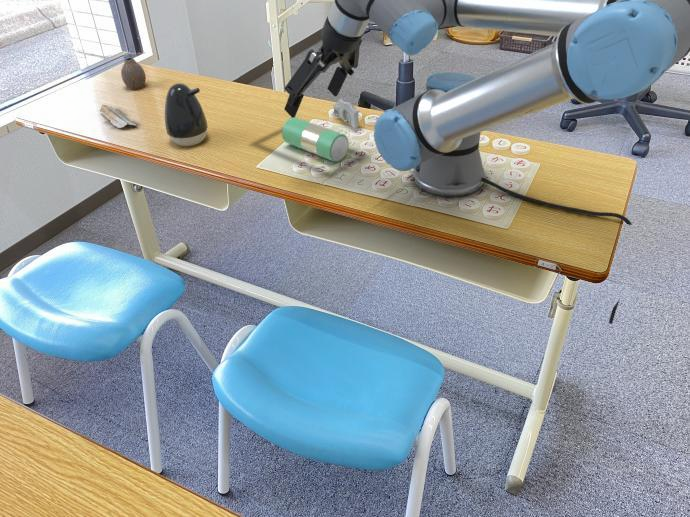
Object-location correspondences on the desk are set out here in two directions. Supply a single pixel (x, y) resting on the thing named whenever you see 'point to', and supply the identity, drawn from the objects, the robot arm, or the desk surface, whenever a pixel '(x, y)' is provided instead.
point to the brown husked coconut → (133, 74)
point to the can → (315, 139)
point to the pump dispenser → (184, 116)
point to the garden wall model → (347, 112)
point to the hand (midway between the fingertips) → (311, 102)
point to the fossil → (115, 116)
